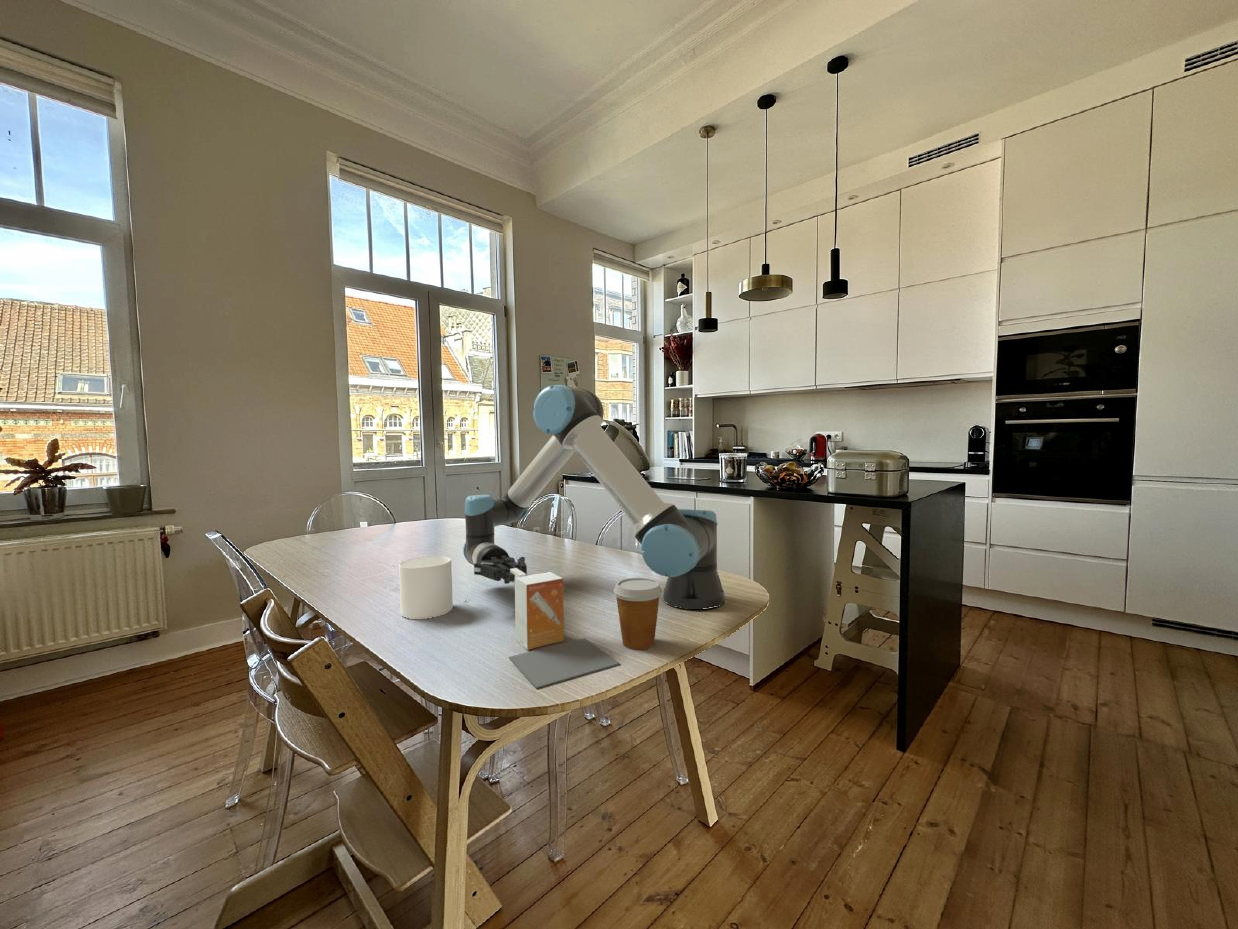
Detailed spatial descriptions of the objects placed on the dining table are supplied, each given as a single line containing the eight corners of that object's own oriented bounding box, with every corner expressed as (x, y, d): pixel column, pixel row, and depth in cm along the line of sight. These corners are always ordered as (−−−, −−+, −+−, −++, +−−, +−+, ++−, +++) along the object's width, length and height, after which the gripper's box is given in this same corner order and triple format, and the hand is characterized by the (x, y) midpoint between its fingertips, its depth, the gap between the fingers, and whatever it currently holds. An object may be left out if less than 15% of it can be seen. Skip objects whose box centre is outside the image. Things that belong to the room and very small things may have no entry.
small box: (527, 651, 94) (525, 584, 94) (515, 640, 100) (513, 577, 99) (565, 641, 99) (563, 577, 98) (551, 631, 104) (550, 571, 103)
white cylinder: (431, 600, 126) (429, 554, 126) (463, 607, 120) (461, 559, 120) (390, 614, 116) (388, 564, 115) (422, 623, 110) (420, 570, 110)
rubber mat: (585, 639, 99) (585, 638, 99) (619, 664, 88) (619, 662, 88) (509, 658, 91) (508, 656, 91) (536, 689, 80) (536, 687, 80)
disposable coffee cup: (666, 652, 93) (665, 589, 92) (616, 654, 92) (615, 591, 92) (658, 632, 102) (657, 576, 102) (612, 635, 102) (611, 578, 101)
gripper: (515, 570, 129) (551, 592, 109) (465, 577, 122) (493, 603, 102) (515, 542, 129) (550, 559, 109) (464, 548, 122) (492, 568, 102)
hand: (523, 581), depth 105 cm, fingers closed
